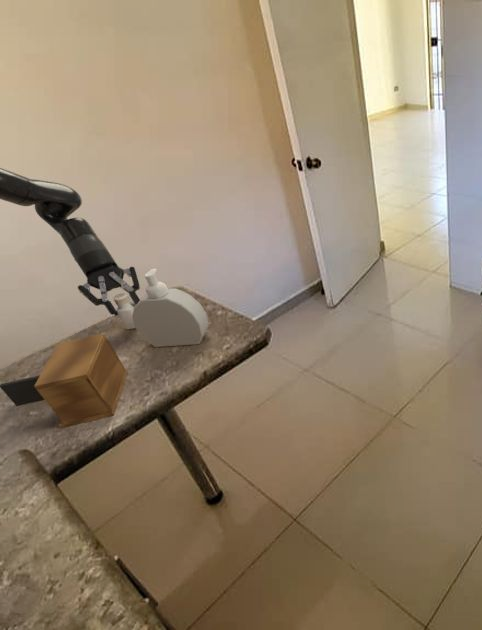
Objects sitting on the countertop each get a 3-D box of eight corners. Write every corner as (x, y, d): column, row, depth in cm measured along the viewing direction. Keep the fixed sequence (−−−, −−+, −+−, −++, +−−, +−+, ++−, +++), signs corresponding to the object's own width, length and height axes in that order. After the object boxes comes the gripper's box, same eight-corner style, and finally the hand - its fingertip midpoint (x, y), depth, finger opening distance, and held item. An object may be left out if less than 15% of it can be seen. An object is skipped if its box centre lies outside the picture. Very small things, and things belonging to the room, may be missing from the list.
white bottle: (141, 328, 118) (125, 299, 113) (125, 330, 118) (109, 301, 112) (145, 319, 121) (130, 291, 116) (129, 322, 121) (114, 293, 115)
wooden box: (61, 428, 91) (27, 387, 84) (80, 383, 101) (52, 344, 94) (114, 415, 93) (86, 374, 86) (127, 372, 104) (103, 333, 97)
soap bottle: (215, 331, 115) (188, 266, 104) (208, 344, 111) (179, 277, 99) (155, 335, 115) (121, 270, 104) (145, 348, 111) (109, 281, 99)
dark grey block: (10, 431, 89) (-19, 399, 83) (23, 407, 94) (-4, 376, 89) (63, 418, 91) (38, 386, 86) (73, 395, 96) (50, 364, 91)
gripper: (57, 260, 108) (95, 318, 108) (120, 240, 116) (155, 293, 116) (64, 272, 114) (99, 326, 114) (122, 252, 122) (155, 302, 122)
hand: (127, 309), depth 115 cm, fingers closed on white bottle, 4 cm apart
